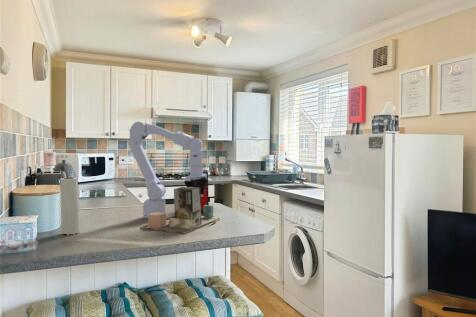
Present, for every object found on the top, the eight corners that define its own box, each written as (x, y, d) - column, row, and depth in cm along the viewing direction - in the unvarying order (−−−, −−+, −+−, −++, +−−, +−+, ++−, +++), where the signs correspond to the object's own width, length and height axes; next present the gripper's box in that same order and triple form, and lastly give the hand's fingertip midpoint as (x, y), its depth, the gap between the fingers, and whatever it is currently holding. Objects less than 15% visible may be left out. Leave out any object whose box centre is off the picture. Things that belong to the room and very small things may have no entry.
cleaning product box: (208, 213, 165) (208, 172, 164) (190, 214, 164) (189, 172, 163) (208, 207, 181) (207, 169, 180) (191, 208, 180) (190, 170, 179)
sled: (169, 228, 136) (169, 213, 136) (198, 217, 155) (198, 204, 155) (194, 231, 131) (193, 215, 131) (220, 219, 150) (220, 206, 150)
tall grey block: (68, 236, 127) (65, 178, 126) (58, 234, 130) (56, 178, 129) (85, 232, 133) (83, 177, 132) (76, 230, 136) (74, 176, 135)
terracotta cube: (148, 227, 135) (148, 214, 135) (154, 224, 140) (154, 212, 139) (159, 228, 133) (159, 215, 133) (166, 225, 138) (165, 212, 138)
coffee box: (202, 227, 138) (201, 187, 137) (193, 231, 132) (192, 189, 132) (183, 225, 142) (182, 186, 141) (174, 228, 136) (173, 188, 136)
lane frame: (140, 231, 133) (139, 215, 133) (174, 219, 154) (174, 205, 153) (185, 236, 124) (185, 220, 124) (216, 223, 144) (215, 209, 144)
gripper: (194, 166, 145) (195, 198, 145) (212, 164, 158) (212, 193, 158) (181, 166, 148) (181, 197, 148) (199, 164, 161) (199, 193, 161)
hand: (196, 195), depth 154 cm, fingers open, 7 cm apart
